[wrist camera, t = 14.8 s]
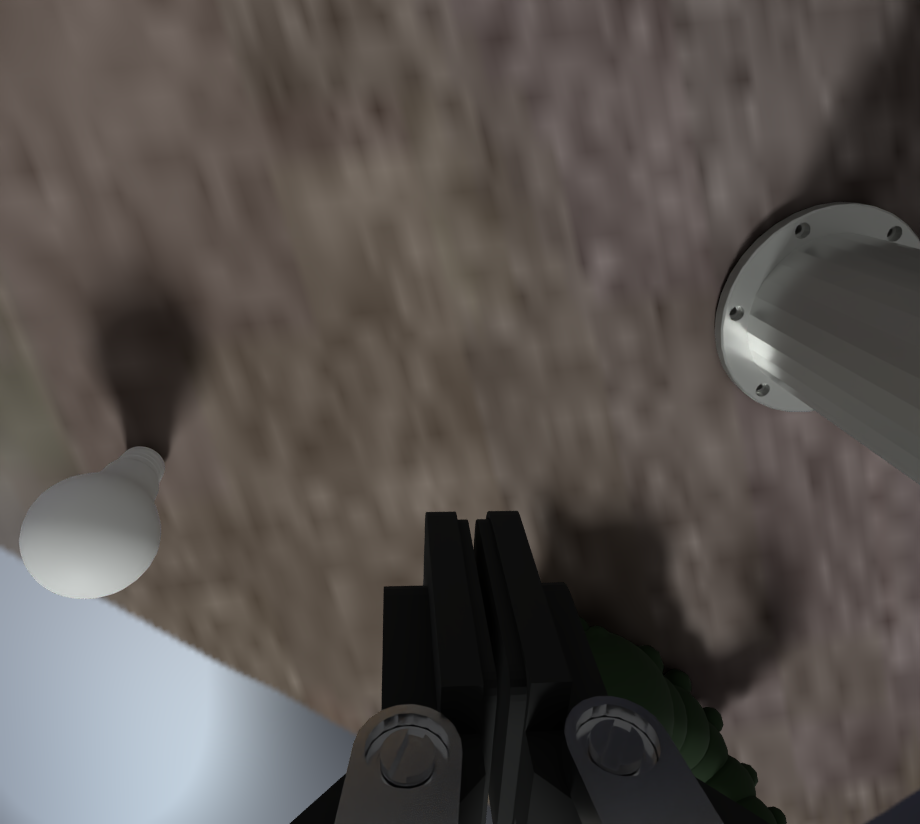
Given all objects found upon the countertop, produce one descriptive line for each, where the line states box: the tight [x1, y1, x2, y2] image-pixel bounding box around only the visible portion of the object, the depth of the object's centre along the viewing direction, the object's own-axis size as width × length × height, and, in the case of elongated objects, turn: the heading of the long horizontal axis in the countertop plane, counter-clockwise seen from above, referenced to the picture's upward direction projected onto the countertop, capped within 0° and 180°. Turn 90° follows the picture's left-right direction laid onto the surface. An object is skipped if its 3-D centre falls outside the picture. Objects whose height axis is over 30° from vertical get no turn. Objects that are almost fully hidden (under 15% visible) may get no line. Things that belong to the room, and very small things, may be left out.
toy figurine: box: [579, 617, 787, 824], centre depth 43 cm, size 9×19×25 cm
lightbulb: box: [19, 446, 165, 599], centre depth 35 cm, size 6×6×11 cm
